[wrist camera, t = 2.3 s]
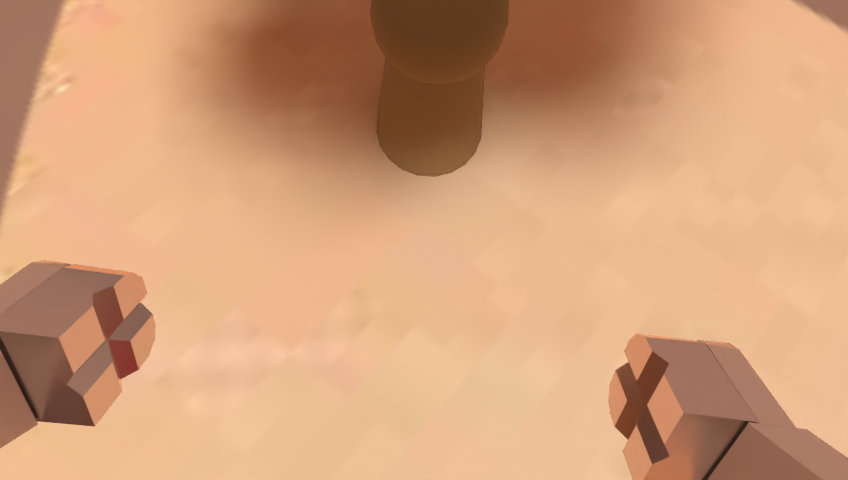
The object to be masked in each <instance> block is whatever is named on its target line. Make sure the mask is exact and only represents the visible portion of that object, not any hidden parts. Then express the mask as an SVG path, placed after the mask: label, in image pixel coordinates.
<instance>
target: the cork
mask: <svg viewBox="0 0 848 480" xmlns="http://www.w3.org/2000/svg"><path fill="white" fill-rule="evenodd" d="M370 13H371V21H372V26H373V29H374V33H375V37H376V41H377V43H378V45H379V47H380V49H381V50H382V52H383V53H384V55H385V56H386V58H385V65H384V73H383V81H382V88H381V96H380V103H379V111H378V120H377V135H378V139H379V143H380V146H381V148H382V149H383V151H384V152H385V154H386V155H387V157H388V158H389V159H390V160H391V161H392V162H393V163H395V164H396V165H397V166H398V167H400V168H401V169H403V170H405V171H408V172H410V173H413V174H416V175H421V176H439V175H443V174H447V173H451V172H453V171H455V170H456V169H458V168H460V167H461V166H463V165H465V164H466V163H467V161H468V160H469V159H470V158H471V157H472V156H473V155H474V153H475V152H476V149H477V147H478V144H479V142H480V139H481V128H482V108H483V87H484V67H485V65H486V64H487V63H488V62H489V60H490V59H491V58H492V57H493V56H494V54H495V53H496V52H497V51H498V48H499V46H500V44H501V41H502V39H503V36H504V34H505V31H506V28H507V25H508V0H372V2H371V12H370Z"/></svg>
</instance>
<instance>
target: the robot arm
mask: <svg viewBox="0 0 848 480" xmlns="http://www.w3.org/2000/svg"><path fill="white" fill-rule="evenodd" d="M146 295H147V291H146V288H145V285H144V281H143V278H142V277H141V276H139V275H137V274H135V273H132V272H125V271H118V270H111V269H104V268H97V267H90V266H83V265H77V264H74V265H71V264H66V263H59V262H52V261H45V260H44V261H38V262H33V263H30V264H29V265H27V266H26V267H25V268H23V269H22V270H20V271H19V272H18V273H16V274H15V275H13V276H12V277H11V278H9V279H8V280H6V281H5V282H4V283H2V284H1V285H0V448H1V447H3V446H5V445H6V444H8V443H9V442H11V441H12V440H14V439H16V438H17V437H19V436H20V435H22V434H23V433H25V432H27V431H28V430H30V429H31V428H33V427H34V426H36V425H37V424H38V423H37V421H41V422H52V423H63V424H74V425H85V426H96V424H97V423H98V422H99V420H100V419H101V418H102V417H103V415H104V414H105V413H106V411H107V410H108V409H109V408H110V406H111V405H112V404H113V402H114V401H115V400H116V398H117V397H118V396H119V395H120V393H121V392H122V386H121V379H122V378H124V377H126V376H128V375H130V374H131V373H133V372H135V371H137V370H139V368H140V367H141V366H142V364H143V363H144V362H145V360H146V359H147V358H148V356H149V354H150V351H151V348H152V345H153V343H154V340H155V322H154V318H153V314H152V313H151V312H150V311H149V310H148V309H147V308H146V307H145V306H144V305H143V304H142V303H141V302H142V300H143V299H144V297H145V296H146ZM625 354H626V356H627V359H628V361H629V362H628V363H626V364H625V365H623V366H621V367H620V368H618V369H617V370H615V373H614V375H613V378H612V380H611V383H610V389H609V408H610V414H611V417H612V420H613V423H614V426H615V427H616V428H617V429H618V430H619V431H620V432H621V433H622V434H623V435H624V436H625V437H626V438H627V439H628V441H627V443H626V445H625V448H624V450H623V453H624V456H625V459H626V462H627V465H628V467H629V470H630V473H631V476H632V479H633V480H848V458H847V457H846V456H844V455H843V454H841V453H840V452H838V451H837V450H835V449H834V448H833V447H831V446H830V445H828V444H827V443H825V442H824V441H823V440H821V439H820V438H818V437H817V436H815V435H814V434H813V433H811V432H810V431H808V430H806V429H799V428H796V427H795V426H794V424H793V423H792V422H791V420H790V419H789V417H788V416H787V415H786V413H785V412H784V411H783V409H782V408H781V406H780V405H779V404H778V402H777V401H776V400H775V398H774V397H773V396H772V394H771V393H770V391H769V390H768V389H767V387H766V386H765V385H764V383H763V382H762V380H761V379H760V378H759V376H758V375H757V374H756V372H755V371H754V369H753V368H752V367H751V365H750V364H749V363H748V361H747V360H746V358H745V357H744V356H743V354H742V353H741V352H740V350H739V349H738V348H736V347H735V346H733V345H732V344H730V343H722V342H712V341H702V340H698V341H694V340H686V339H677V338H669V337H660V336H651V335H643V334H635V335H634V336H633V337H632V338H631V339H630V340H629V342H628V344H627V347H626V349H625Z"/></svg>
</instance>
